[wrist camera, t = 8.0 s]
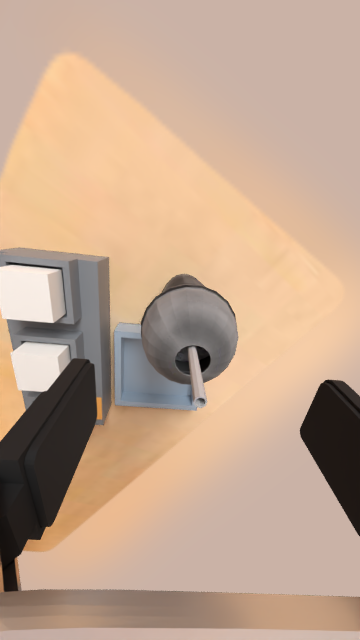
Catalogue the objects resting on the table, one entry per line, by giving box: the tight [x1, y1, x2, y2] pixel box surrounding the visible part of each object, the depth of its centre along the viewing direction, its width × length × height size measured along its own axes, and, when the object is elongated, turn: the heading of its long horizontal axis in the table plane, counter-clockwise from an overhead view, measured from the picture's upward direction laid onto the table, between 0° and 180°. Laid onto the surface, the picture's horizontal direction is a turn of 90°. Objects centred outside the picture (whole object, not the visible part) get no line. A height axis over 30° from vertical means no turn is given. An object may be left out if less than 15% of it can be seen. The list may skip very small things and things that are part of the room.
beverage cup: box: [141, 274, 238, 408], centre depth 18 cm, size 7×7×20 cm
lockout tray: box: [114, 323, 197, 411], centre depth 30 cm, size 12×12×2 cm
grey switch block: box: [0, 248, 111, 425], centre depth 25 cm, size 22×10×8 cm, turn 174°
